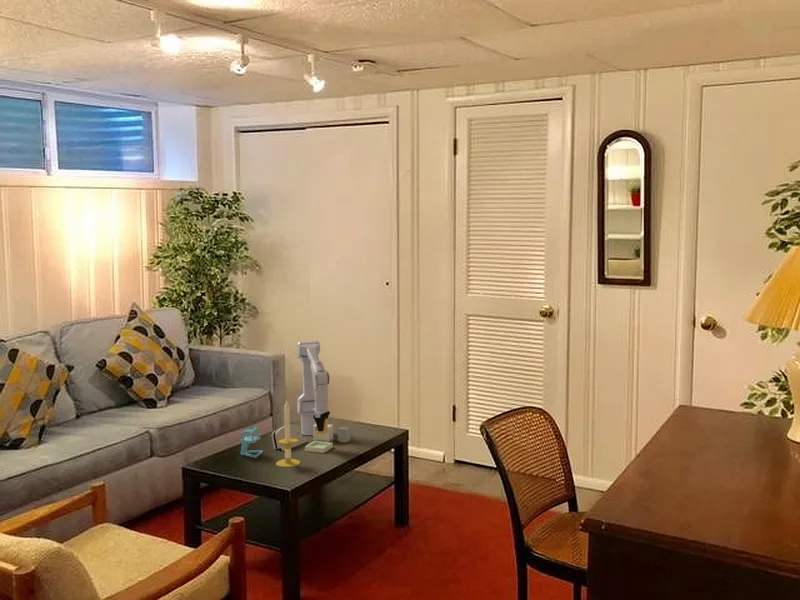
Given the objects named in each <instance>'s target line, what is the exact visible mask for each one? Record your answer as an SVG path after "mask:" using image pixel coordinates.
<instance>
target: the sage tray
mask: <svg viewBox="0 0 800 600" xmlns="http://www.w3.org/2000/svg"><path fill="white" fill-rule="evenodd" d="M333 445H334V444H333V442H331V443H330V442H321V441H313V442H310V443H308V444H307V445H305V446H304V451H305V452H311V453H319V454H324V453H326V452H328V451H329V450H331V449H333V447H334V446H333Z"/></svg>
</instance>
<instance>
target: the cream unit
mask: <svg viewBox="0 0 800 600" xmlns="http://www.w3.org/2000/svg"><path fill="white" fill-rule="evenodd" d="M333 440H334V441H335V440H336V438H335V437H334V424H331V423H330V424H329V423H328V432H327V433H326V434H317V425H316V424H315V425H313V435H312V439H311V440H310V441H311V442H310V443H312V442H313V441H321V442H331V443H333V442H334V441H333Z"/></svg>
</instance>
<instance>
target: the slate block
mask: <svg viewBox="0 0 800 600" xmlns="http://www.w3.org/2000/svg"><path fill="white" fill-rule="evenodd" d="M350 430H351V429H350V426H340V427H339V428H337V442H338V441H342V442H341V443H345V442H346V443H348V442H349V441H351V437H350V436H351V433H350V432H351V431H350ZM348 440H349V441H348ZM347 441H348V442H347Z"/></svg>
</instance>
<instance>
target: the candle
mask: <svg viewBox="0 0 800 600" xmlns="http://www.w3.org/2000/svg"><path fill="white" fill-rule="evenodd" d="M283 408H284V426H285V438H280V439H278V440H277V442H278V443H280V444H285V450H284V459H280V460H278V461H276V462H275V465H276V466H277V467H281V468H293V467H296V466H297V467H298V466H299V465H300V464H301V461H300V460H299V459H295V458H292V448H291V444H293V443H296V442H297V441H298V439H297V438H292V437H290V425H291V416H290V415H291V413H290V405H289V402H288V400H286V401H285V404H284V406H283Z"/></svg>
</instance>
